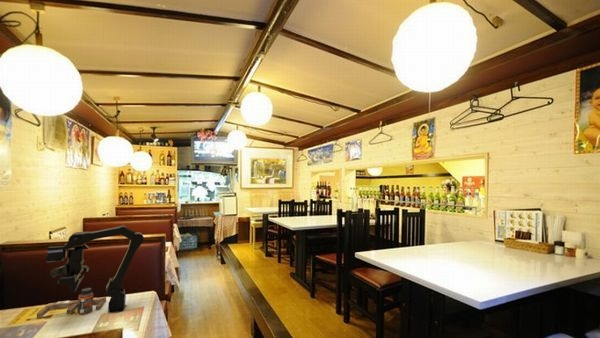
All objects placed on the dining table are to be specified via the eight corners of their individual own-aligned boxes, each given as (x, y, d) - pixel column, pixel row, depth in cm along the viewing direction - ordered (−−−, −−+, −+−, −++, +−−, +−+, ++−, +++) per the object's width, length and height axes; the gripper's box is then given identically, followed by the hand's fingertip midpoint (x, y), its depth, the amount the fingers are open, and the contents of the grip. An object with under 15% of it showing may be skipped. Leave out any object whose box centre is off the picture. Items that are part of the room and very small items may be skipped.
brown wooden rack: (105, 301, 148) (106, 296, 148) (99, 310, 138) (99, 304, 138) (48, 308, 140) (48, 302, 140) (36, 318, 130) (36, 311, 130)
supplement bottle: (83, 315, 132) (85, 292, 133) (74, 314, 134) (75, 290, 134) (95, 310, 138) (96, 287, 139) (86, 309, 139) (87, 286, 140)
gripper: (63, 255, 136) (60, 287, 135) (44, 266, 119) (41, 303, 118) (90, 254, 140) (88, 285, 140) (75, 264, 123) (73, 299, 122)
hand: (73, 292), depth 130 cm, fingers closed
